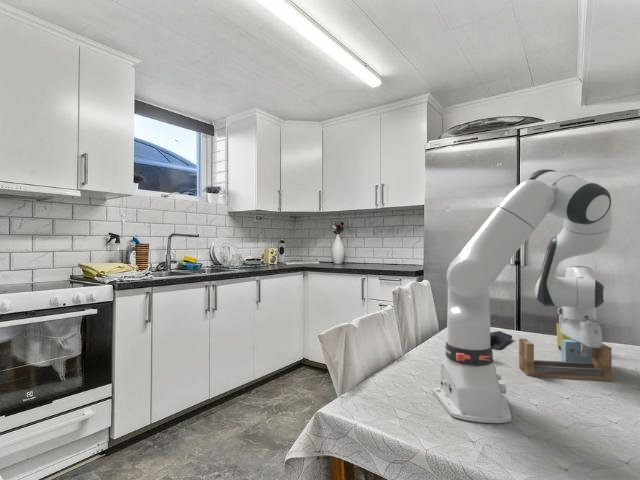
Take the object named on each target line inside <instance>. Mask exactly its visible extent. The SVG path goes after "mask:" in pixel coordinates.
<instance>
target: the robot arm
mask: <svg viewBox="0 0 640 480" xmlns="http://www.w3.org/2000/svg"><path fill="white" fill-rule="evenodd" d="M548 214H551V215H553V216H555V217H558V218H562V219H563V226H562V229H561V231H560V232H559V233H558V234H557V235H556V236H553V237H552V238H551V239H550V240H549V242H548V245H547V248H546V251H545V254H544V259H543V262H542V266H541V270H540V274H539V275H538V280H537V281H536V284H535V287H534V294H535V295H534V296H535V298H536V300H537V301H538V302H539V303H540V304H541V305H543V306H545V307H558V308H557V315H558V314H560V316H559V328H560V332H561V333H562V334H564V335H566V336H567V337H569V338H570V340H575V341H577V342H579V343H580V346H581V350H579V355H580V356H582V357H587V352H588V350H589V348H601V346H602V344H603V334H602V333H603V332H602V328H601V325H599V323H598V322H597V308H599V307H600V306H601V305H602V304H604V303H605V302H604V290H605V285H603V284H602V283H601V282H600V281H599V280H597V279H596V277H595V275H596V274H595V271H594V269H593V268H592V267H589V266H584V265H583V266H582V265H581V266H579V265H575V266H574V265H572V266H569V267H567V268H566V269H565V276H556V274H557V271H558V269H559V265H560V264H561V262H563V261H565V260H568V259H571V258H575V257H578V256H583V255H588V254H591V253H594V252H596V251H598V250H600V249H601V248H603V247H604V246H605V245H607V243H608V241H609V239H610V236H611V230H612V222H613V221H612V219H613V210H612V198H611V194H610V191H609V190H607V189H606V188H605V187H604V186H602V185H600V184H598V183H595V182H591V181H588V180H586V179H583V178H581V177H578V176H576V175H573V174H572V173H571V174H570V173H566V172H561V171H557V170H554V169H544V168H543V169H539V170H536V171H535V172H533V173H531V174H530V175H529V176H528V178H526V180H523V181H522V182H520V183H519V184H518V185H516V186H515V187H514V188H513V189H512V190H511V191H510V192H509V193H508V194H507V195H505V197H504V198H503V199H502V200H501V201H500V202H499V204H498V205H497V206H496V207H495V208H494V210H493V211H492V212H491V214H489V216H488V217H487V218H486V219H485V221H484V222H483V223H482V225H480V227H479V228H478V229H477V231H476V232H475V233H474V234H473V236H472V237H471V238H470V240H469V241H468V242H467V243H466V244H465V245H464V247H463V248H462V249H461V251H460V252H459V253H458V254H457V256H456V257H455V258H454V259H453V260H451V262H450V264H449V266H448V268H447V271H446V283H447V311H446V313H447V314H446V315H447V317H446V318H447V319H446V322H447V325H446V327H447V328H446V329H447V333H446V338H447V339H446V340H447V341H445V348H444V349H445V350H444V351H445V356H446V357H445V358H444V359H443V360H442V361H441V362H440V365H439V386H437V387H434V388H433V389H432V390H433V391H432V393H433V394H434V396H435V397H436V399H437V400H438V401H439V402H440V404H442V406H443V407H444V409H445V410H446V411H447V412H448V414H449V415H450V416H451V417H453V418H456V419H460V420H463V421H469V422H476V423H487V424H503V423H509V422H512V415H511V411H510V408H509V404H508V401H507V397H506V394H507V386H506V384H503V383H499V381H501V379H502V377H501V376H502V375H501V374H499V373H497V366H496V365H495V363H494V351H493V349H492V347H491V346H490V332H491V310H490V309H491V308H490V287H491V286H492V285H493V283H495V281H496V280H497V278H498V277H499V276H500V275H501V274H502V272H503V270H504V269H505V268H506V266H507V265H508V264H509V262H510V261H511V259H513V257H514V256H515V255H516V253H517V252H518V251H519V249H520V248H521V247H523V246H524V244H525V242H527V240H528V239H529V238H530V237H531V236H532V234H533V233H534V232H535V231H536V230H537V228H538V227H539V226H540V224H541V223H542V222H543V220H544V219H545V218H546V216H547V215H548ZM560 306H562V307H561V308H560Z"/></svg>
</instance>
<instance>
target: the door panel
mask: <svg viewBox="0 0 640 480" xmlns="http://www.w3.org/2000/svg"><path fill="white" fill-rule="evenodd" d="M579 350H581V346H580V343H579V342H577V341H575V340H564V339H561V350H560V351H561V355H560V356H561V360H560V361H563V362H582V363H592V358H591V348H589V350H588V352H587V357H582V356H580V355H579Z"/></svg>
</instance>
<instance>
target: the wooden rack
mask: <svg viewBox="0 0 640 480" xmlns="http://www.w3.org/2000/svg"><path fill="white" fill-rule="evenodd" d="M591 358H592V363H582V362H563V361H561V360H560V361H559V360H558V361H557V360H543V359H542V360H541V359H535V345H534V343H533V342H530V341H529V340H528V339H527V338H521V337H520V338H518V369H520V370H521V371H522V372H523V373H524V374H525V375H526V376H529V377H531V376H532V377H539V378H553V379H554V378H556V379H557V378H559V379H573V380H574V379H575V380H587V381H588V380H589V381H604V382H605V381H612V380H613V378H612V375H613V374H612V371H613V370H612V369H613V368H612V365H613V364H612V363H613V358H612V347H610V346H608V345H606V344H604V343H602V346H601V348H591Z"/></svg>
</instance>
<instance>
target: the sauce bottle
mask: <svg viewBox="0 0 640 480" xmlns="http://www.w3.org/2000/svg"><path fill="white" fill-rule="evenodd" d="M561 307H562V306H559V308H561ZM556 316H557V317H556V343H557V348H558V349H559V350H560V351H561V339H564V340H570V338H569V337H567V336H566V335H564V334H562V333H561V332H560V328H559V316H560V314H558V313H557V315H556Z"/></svg>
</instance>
